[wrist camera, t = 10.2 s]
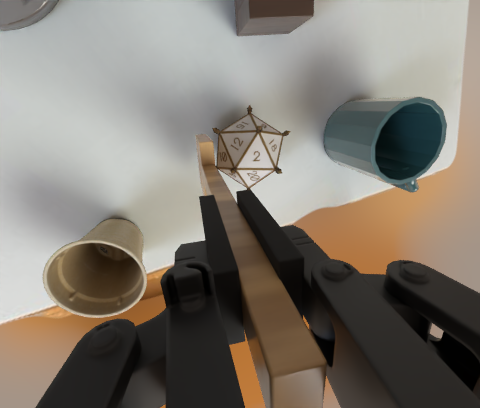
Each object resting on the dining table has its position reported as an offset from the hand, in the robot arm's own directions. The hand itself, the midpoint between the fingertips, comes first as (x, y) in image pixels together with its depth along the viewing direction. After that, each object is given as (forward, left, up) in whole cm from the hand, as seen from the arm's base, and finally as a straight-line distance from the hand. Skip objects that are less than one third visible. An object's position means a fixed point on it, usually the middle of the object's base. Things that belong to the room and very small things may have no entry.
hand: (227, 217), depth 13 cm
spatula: (0, 0, -17) cm, 17 cm away
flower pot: (-13, -10, -20) cm, 25 cm away
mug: (+21, -1, -20) cm, 29 cm away
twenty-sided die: (+5, 0, -20) cm, 20 cm away
